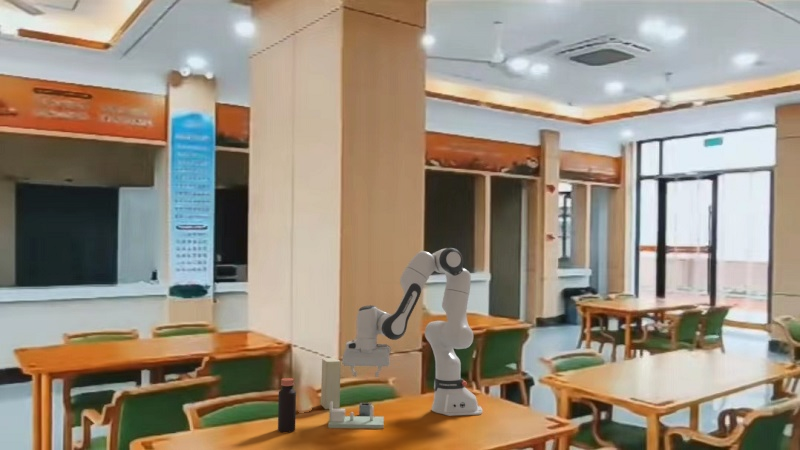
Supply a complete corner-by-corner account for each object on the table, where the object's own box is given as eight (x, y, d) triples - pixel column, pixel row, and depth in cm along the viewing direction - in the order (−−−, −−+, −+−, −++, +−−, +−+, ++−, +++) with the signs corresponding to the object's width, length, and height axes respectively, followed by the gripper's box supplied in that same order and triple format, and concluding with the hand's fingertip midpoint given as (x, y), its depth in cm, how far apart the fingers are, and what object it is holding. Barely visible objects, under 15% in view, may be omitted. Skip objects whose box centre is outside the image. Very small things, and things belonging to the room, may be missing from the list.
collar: (371, 414, 285) (371, 402, 285) (370, 417, 280) (371, 405, 280) (359, 414, 285) (359, 402, 285) (359, 417, 280) (359, 405, 280)
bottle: (276, 428, 262) (277, 378, 263) (293, 427, 265) (294, 377, 265) (279, 433, 256) (280, 381, 256) (296, 432, 259) (297, 380, 259)
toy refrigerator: (341, 408, 295) (342, 360, 296) (325, 409, 293) (326, 361, 293) (336, 403, 303) (337, 357, 303) (320, 405, 300) (321, 358, 300)
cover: (345, 418, 273) (345, 401, 273) (344, 421, 268) (344, 404, 268) (330, 418, 273) (330, 401, 273) (329, 421, 268) (329, 404, 268)
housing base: (383, 420, 277) (384, 402, 277) (383, 428, 265) (383, 409, 265) (331, 419, 277) (331, 401, 277) (328, 427, 265) (328, 409, 265)
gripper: (390, 343, 287) (390, 375, 286) (343, 342, 286) (342, 374, 286) (390, 345, 280) (390, 378, 280) (342, 344, 280) (341, 377, 280)
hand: (365, 376), depth 283 cm, fingers open, 8 cm apart
